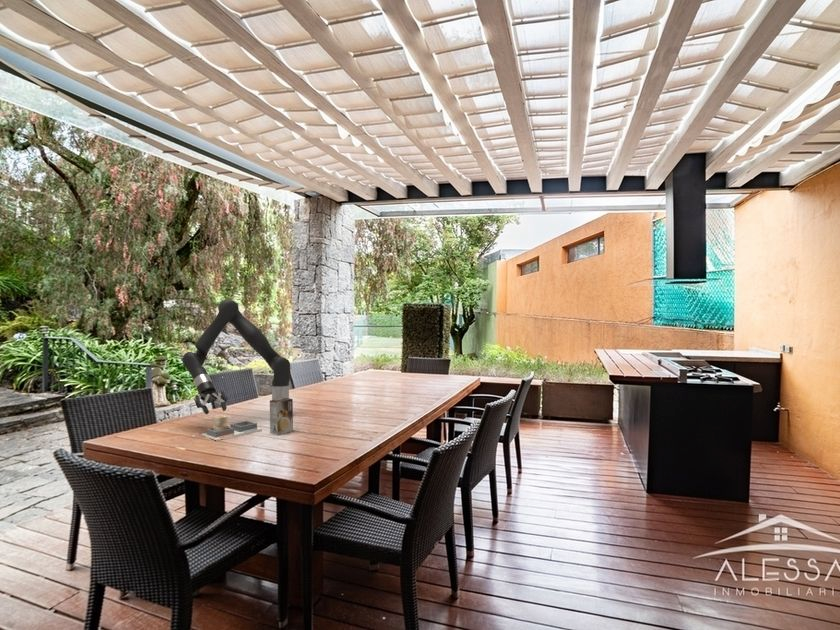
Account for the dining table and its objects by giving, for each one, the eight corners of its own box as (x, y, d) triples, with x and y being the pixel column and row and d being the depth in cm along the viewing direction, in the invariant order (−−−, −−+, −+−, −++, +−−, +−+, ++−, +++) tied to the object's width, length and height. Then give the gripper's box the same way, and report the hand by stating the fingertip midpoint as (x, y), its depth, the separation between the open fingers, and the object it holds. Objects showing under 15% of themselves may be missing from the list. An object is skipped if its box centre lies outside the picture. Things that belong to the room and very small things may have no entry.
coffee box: (285, 429, 226) (285, 397, 226) (293, 431, 222) (293, 398, 222) (269, 433, 218) (269, 400, 218) (277, 435, 215) (277, 401, 214)
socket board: (246, 426, 232) (246, 419, 232) (261, 430, 223) (261, 423, 223) (201, 436, 214) (201, 428, 214) (216, 441, 205) (216, 433, 205)
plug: (222, 432, 217) (222, 415, 217) (227, 433, 214) (227, 416, 214) (213, 434, 213) (213, 417, 213) (218, 435, 211) (218, 418, 210)
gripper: (192, 382, 215) (204, 409, 209) (221, 378, 227) (233, 404, 220) (187, 392, 219) (198, 419, 212) (215, 388, 230) (227, 413, 223)
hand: (216, 411), depth 216 cm, fingers open, 8 cm apart
